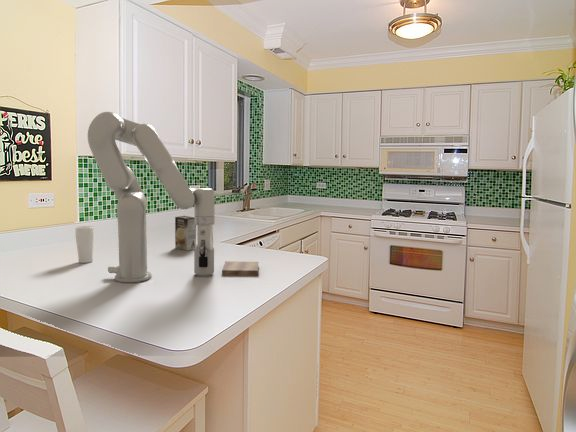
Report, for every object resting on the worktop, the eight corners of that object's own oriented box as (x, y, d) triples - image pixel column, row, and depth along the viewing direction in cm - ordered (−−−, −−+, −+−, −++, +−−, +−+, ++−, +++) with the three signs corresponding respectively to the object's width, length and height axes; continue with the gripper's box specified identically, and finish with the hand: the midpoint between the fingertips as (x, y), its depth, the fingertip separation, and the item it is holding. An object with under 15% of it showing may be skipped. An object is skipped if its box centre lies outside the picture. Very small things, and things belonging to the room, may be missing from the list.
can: (205, 270, 156) (205, 241, 154) (217, 274, 151) (218, 244, 149) (190, 274, 150) (190, 244, 148) (202, 278, 145) (202, 247, 144)
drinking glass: (97, 262, 164) (96, 227, 162) (80, 264, 159) (78, 228, 157) (91, 259, 168) (89, 225, 166) (74, 261, 163) (72, 226, 161)
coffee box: (174, 248, 195) (174, 216, 193) (184, 246, 201) (184, 215, 199) (187, 250, 191) (187, 218, 189) (196, 248, 196) (196, 217, 194)
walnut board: (222, 275, 150) (222, 270, 150) (225, 265, 164) (225, 261, 164) (258, 275, 151) (258, 270, 151) (258, 266, 165) (258, 261, 165)
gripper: (211, 223, 139) (212, 269, 142) (217, 217, 157) (217, 258, 159) (190, 223, 139) (191, 269, 141) (198, 217, 156) (198, 258, 158)
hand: (205, 263), depth 150 cm, fingers open, 9 cm apart
